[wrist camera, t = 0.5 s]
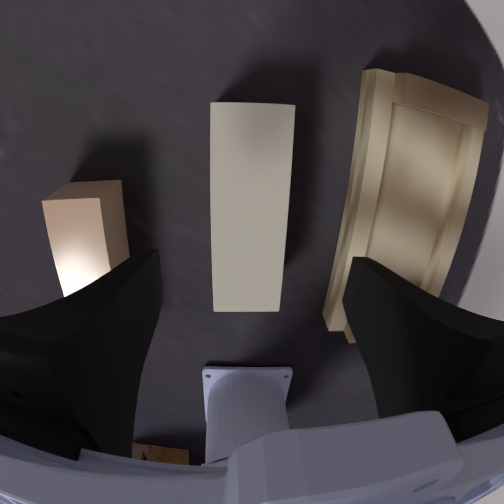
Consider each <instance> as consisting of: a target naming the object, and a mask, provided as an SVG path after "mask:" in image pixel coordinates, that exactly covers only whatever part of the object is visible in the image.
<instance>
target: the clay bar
mask: <svg viewBox="0 0 504 504" xmlns="http://www.w3.org/2000/svg"><path fill="white" fill-rule="evenodd" d="M294 119H295V105H288V104H275V103H252V102H211V123H210V194H211V247H212V279H213V304H214V312H267V311H279V306H280V296H281V286H282V276H283V265H284V254H285V243H286V232H287V220H288V207H289V194H290V181H291V167H292V152H293V136H294Z"/></svg>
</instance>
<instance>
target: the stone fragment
mask: <svg viewBox="0 0 504 504" xmlns="http://www.w3.org/2000/svg"><path fill="white" fill-rule="evenodd" d="M132 459H138V460H145V461H153V462H161V463H170V464H180V465H189V451H188V450H186V449H177V448H169V447H161V446H155V445H148V444H140V443H135V442H132Z"/></svg>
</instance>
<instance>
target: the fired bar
mask: <svg viewBox="0 0 504 504" xmlns="http://www.w3.org/2000/svg"><path fill="white" fill-rule="evenodd" d="M42 204H43V210H44V215H45V221H46V226H47V231H48V235H49V240H50V244H51V249H52V253H53V257H54V261H55V265H56V269H57V272H58V276H59V279H60V283H61V286H62V290H63V293H64V297H65V296H68V295H70V294H72V293H74V292H76V291H78V290H79V289H81V288H83V287H85V286H87V285H89V284H90V283H92V282H93V281H95V280H97V279H98V278H100V277H101V276H103V275H104V274H106V273H107V272H109V271H111V270H112V269H113V268H115V267H116V266H118V265H119V264H121V263H122V262H123V261H125V260H126V259H128V258H129V257H130V254H129V247H128V239H127V231H126V223H125V214H124V204H123V194H122V182H121V180H104V181H86V182H71V183H68V184H67V185H65V186H63V187H62V188H60V189H59V190H57V191H56V192H54V193H53V194H51V195H50V196H48V197H47V198H45V199H44V200H42Z"/></svg>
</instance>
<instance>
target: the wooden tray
mask: <svg viewBox="0 0 504 504" xmlns="http://www.w3.org/2000/svg"><path fill="white" fill-rule="evenodd" d="M488 112H489V104H488V103H486V102H484V101H482V100H480V99H477V98H475V97H473V96H470V95H468V94H466V93H463V92H461V91H458V90H456V89H453V88H451V87H448V86H445V85H443V84H440V83H437V82H434V81H432V80H429V79H426V78H423V77H420V76H417V75H414V74H410V73H393V72H389V71H385V70H381V69H377V68H376V69H369V70H362V80H361V90H360V100H359V110H358V118H357V127H356V135H355V142H354V150H353V157H352V164H351V170H350V177H349V183H348V189H347V195H346V201H345V207H344V212H343V218H342V223H341V229H340V234H339V239H338V244H337V249H336V254H335V259H334V263H333V268H332V273H331V277H330V282H329V286H328V291H327V295H326V299H325V303H324V308H323V312H322V314H323V317H324V319H325V322H326V325H327V328H328V331H344V333H345V335H346V338H347V340H348V343H356V341H355V339H354V336H353V334H352V332H351V329H350V327H349V324H348V322H347V318H346V315H345V311H344V307H343V303H342V298H343V294H344V290H345V287H346V283H347V279H348V275H349V271H350V266H351V262H352V258H353V256H356V257H369V258H371V259H373V260H375V261H377V262H378V263H380V264H382V265H384V266H385V267H387V268H388V269H390V270H392V271H393V272H395V273H396V274H398V275H400V276H401V277H403V278H404V279H406V280H407V281H409V282H411V283H412V284H414V285H416V286H417V287H419V288H421V289H423V290H424V291H426V292H428V293H430V294H432V295H433V296H435V297H437V298H438V297H439V294H440V292H441V289H442V287H443V284H444V282H445V279H446V276H447V274H448V271H449V268H450V265H451V263H452V260H453V257H454V254H455V251H456V248H457V245H458V242H459V238H460V235H461V232H462V229H463V225H464V222H465V218H466V215H467V211H468V207H469V204H470V200H471V196H472V192H473V187H474V183H475V179H476V174H477V169H478V164H479V159H480V154H481V148H482V142H483V136H484V130H486V127H487V120H488Z"/></svg>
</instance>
